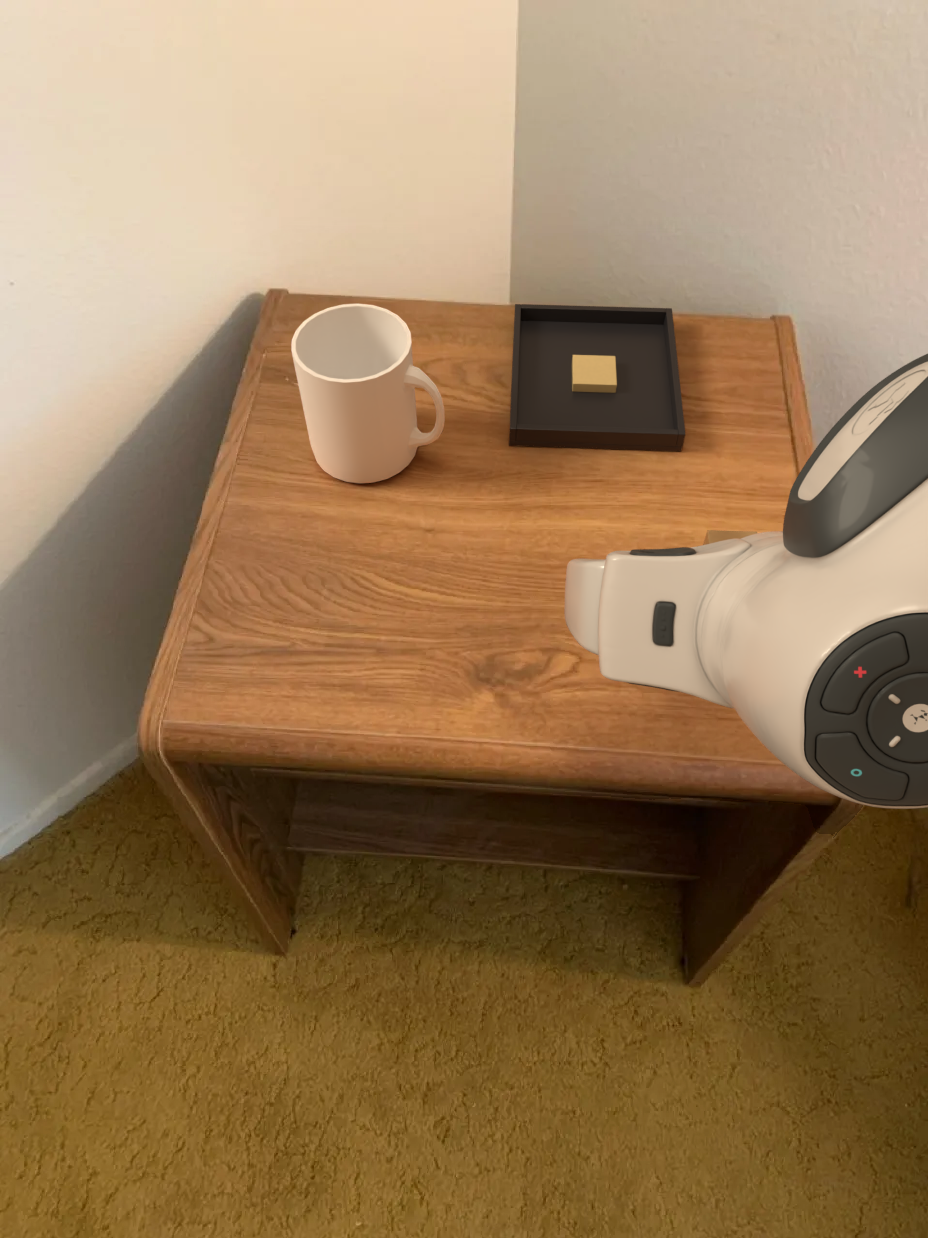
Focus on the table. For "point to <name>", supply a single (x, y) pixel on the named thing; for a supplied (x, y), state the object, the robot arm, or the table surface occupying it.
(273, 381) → the table surface
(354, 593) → the table surface
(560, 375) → the black tray
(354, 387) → the mug
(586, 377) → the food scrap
